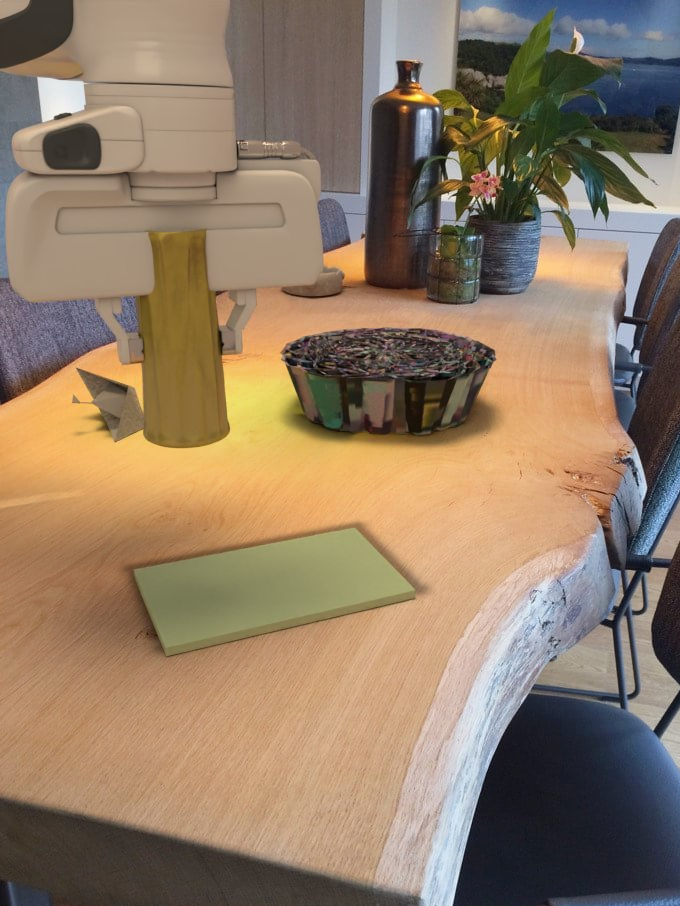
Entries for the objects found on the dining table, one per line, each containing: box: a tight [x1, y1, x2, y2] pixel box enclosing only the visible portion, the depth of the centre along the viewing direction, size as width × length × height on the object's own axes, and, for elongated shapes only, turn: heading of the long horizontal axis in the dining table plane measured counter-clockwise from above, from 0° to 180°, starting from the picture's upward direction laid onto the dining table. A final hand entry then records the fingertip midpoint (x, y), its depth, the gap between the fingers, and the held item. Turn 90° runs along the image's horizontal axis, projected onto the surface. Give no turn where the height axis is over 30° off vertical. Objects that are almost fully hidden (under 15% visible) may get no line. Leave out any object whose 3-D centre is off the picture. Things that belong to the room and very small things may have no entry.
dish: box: [281, 264, 346, 297], centre depth 178 cm, size 14×14×5 cm
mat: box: [133, 527, 417, 657], centre depth 67 cm, size 20×12×1 cm, turn 115°
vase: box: [134, 229, 231, 449], centre depth 56 cm, size 6×6×14 cm
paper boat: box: [71, 367, 144, 443], centre depth 99 cm, size 12×6×9 cm
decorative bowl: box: [279, 326, 497, 437], centre depth 106 cm, size 26×28×10 cm
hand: (181, 357), depth 57 cm, fingers closed on vase, 5 cm apart
